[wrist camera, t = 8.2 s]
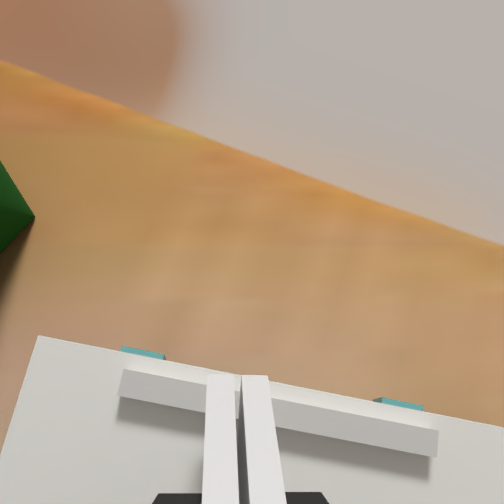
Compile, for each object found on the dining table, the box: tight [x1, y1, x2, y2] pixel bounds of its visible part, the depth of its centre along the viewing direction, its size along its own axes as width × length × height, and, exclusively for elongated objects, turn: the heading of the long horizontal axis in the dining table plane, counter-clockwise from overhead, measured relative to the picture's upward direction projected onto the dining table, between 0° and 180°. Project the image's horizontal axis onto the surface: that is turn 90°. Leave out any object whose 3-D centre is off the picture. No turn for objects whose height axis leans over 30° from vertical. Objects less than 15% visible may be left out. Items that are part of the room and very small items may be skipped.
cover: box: [0, 335, 504, 504], centre depth 14 cm, size 16×7×1 cm, turn 80°
